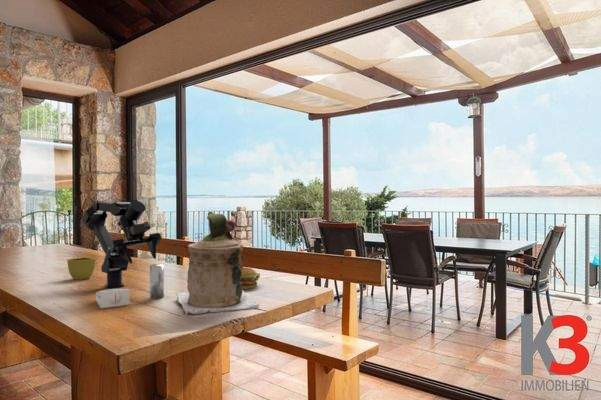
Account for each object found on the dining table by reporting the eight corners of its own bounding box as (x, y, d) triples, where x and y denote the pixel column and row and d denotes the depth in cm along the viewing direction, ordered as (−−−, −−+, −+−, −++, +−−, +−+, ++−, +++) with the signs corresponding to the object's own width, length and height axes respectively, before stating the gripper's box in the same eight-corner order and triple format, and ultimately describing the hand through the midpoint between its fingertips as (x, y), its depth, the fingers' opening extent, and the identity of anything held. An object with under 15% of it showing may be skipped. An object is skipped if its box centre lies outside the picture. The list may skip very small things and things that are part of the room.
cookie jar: (184, 317, 128) (184, 213, 128) (175, 299, 151) (175, 211, 151) (261, 308, 138) (261, 212, 138) (241, 293, 161) (241, 210, 161)
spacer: (148, 296, 154) (148, 264, 154) (161, 295, 157) (161, 263, 157) (151, 299, 150) (151, 266, 150) (165, 297, 153) (165, 265, 153)
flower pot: (96, 278, 191) (96, 258, 191) (77, 281, 184) (77, 260, 184) (85, 276, 196) (85, 257, 196) (66, 279, 188) (66, 259, 188)
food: (251, 291, 163) (251, 271, 163) (220, 288, 168) (220, 269, 168) (266, 284, 176) (266, 266, 176) (237, 282, 181) (237, 264, 181)
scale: (93, 300, 148) (93, 286, 148) (125, 297, 154) (125, 283, 154) (98, 308, 138) (98, 293, 138) (131, 304, 143) (131, 289, 143)
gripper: (110, 218, 154) (123, 253, 148) (158, 212, 167) (172, 244, 160) (104, 236, 161) (116, 270, 154) (150, 229, 173) (164, 260, 167)
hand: (143, 260), depth 159 cm, fingers open, 9 cm apart
